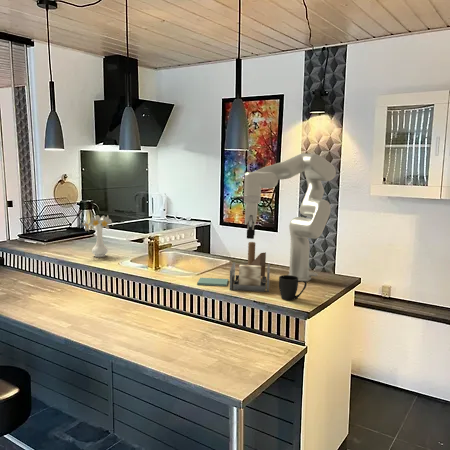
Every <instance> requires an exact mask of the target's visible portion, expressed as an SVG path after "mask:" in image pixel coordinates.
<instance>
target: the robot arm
mask: <svg viewBox="0 0 450 450" xmlns="http://www.w3.org/2000/svg"><path fill="white" fill-rule="evenodd" d="M303 172H304V176H305V179H306V182H307V189H306V193H305V194H304V197H303V198H302V199H303V200H302V202H301V204H300V207H299V212H300V214H301V215H302V216H297V217H293V218H292V219H291V220H290V222H289V225H288V227H289V233H290V235H289V236H290V249H289V250H290V251H289V253H290V254H289V255H290V256H289V272H288V274H287V275H292V276H296V277H298V281H299V280H302V281H306V282H310V281H312V277H318V275H319V274H318V272H315V271H310V270H309V264H310V261H309V260H310V247H311V246H310V240H309V239H315V240H316V239H318V238H320V237H321V235H322V233H324V232H323V231H324V229H325V227H326V224H327V223H328V221H329V218H330V215H331V204H330V202H329V201H328V200H325V199H323V196H324V194H325V189H324V186H323V183H322V182H323V181H324V182H329V181H330V182H331V181H332V180H333V179H334V178H336V174H337V170H336V168H335V166H334V164H332V163H331V162H330V161H328V160H327V159H326V158H324V157H323V156H321V155H320V154H317V153H300V154H297V155H295V156H293V157H290V158H288V159H286V160H284V161H282V162H277V163H273V164H271V165H267V166H264V167H261V168H259V169H257V170H255V171H249V172H247V171H246V173H245V175H244V190H243V203H244V204H245V209H244V210H245V211H244V212H245V213H244V225H247V229H246V239H247V240H249V239H250V240H253V239H255V235H256V234H255V233H256V227H255V225H256V223H257V217H258V205H259V204H261V201H262V200H261V197H262V195H261V194H262V193H261V192H262V189H266V190H267V189H273V188H275V187H276V186H277V185H278V183H279V181H281V180H282V181H283V180H288V179H292V178H293V177H295V176H297V175H299V174H301V173H303ZM303 216H304V217H303Z"/></svg>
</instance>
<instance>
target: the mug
mask: <svg viewBox="0 0 450 450" xmlns="http://www.w3.org/2000/svg"><path fill="white" fill-rule="evenodd" d="M278 280H279V281H278V287H279V294H280V298H281V300H283V301H289V302H290V301H294V300H296V299H298V298H299V297H300V296H301V295H302V293H304V291H305V289H306V287H307V285H308V284H307V282H308V281H302V280H299V281H298V277H296V276H292V275H288V274H286V275H285V274H284V275H279V277H278ZM299 283H304V284H303V285H304V286H303V288H302V290H301V291H300V293H299V294H297V292H298V287H299Z"/></svg>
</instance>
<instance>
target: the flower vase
mask: <svg viewBox="0 0 450 450" xmlns="http://www.w3.org/2000/svg"><path fill="white" fill-rule="evenodd" d="M82 220H83V222H81V223H82V226H83V227H84V230H85V232H87V231H88V232H89V231H90V227H92V229H94V230H95V229H96V243H95V245H94V246H93V247H92V249H91V253H92V254H93V255H94V257H95V258H105V257H106V255H107V254H108V251H109V249H108V248H107V246H105V243H104V241H103V229H104V228H105V229H107V230H109V229H110V226H109V225H112V226H114V224H113V223H112V219H111V218H110V217H109V215H108V214H107V216H105V215H102V216H101V217H100V215H98V214H97V215H95V217H93V216H92V217H90V221H91V222H89V223H88V222H87V221H86V220H85V219H82Z"/></svg>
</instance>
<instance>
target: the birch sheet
mask: <svg viewBox="0 0 450 450" xmlns="http://www.w3.org/2000/svg"><path fill="white" fill-rule="evenodd" d="M238 268H239V269H238V275H239V285H256V286H260V283H261V266H256V265H248V264H239V266H238Z"/></svg>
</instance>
